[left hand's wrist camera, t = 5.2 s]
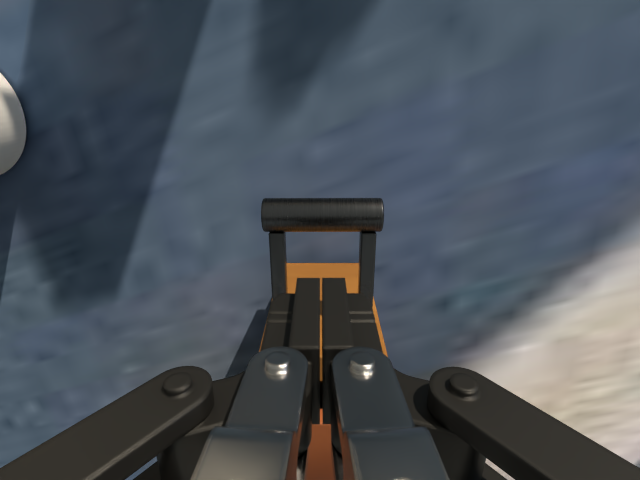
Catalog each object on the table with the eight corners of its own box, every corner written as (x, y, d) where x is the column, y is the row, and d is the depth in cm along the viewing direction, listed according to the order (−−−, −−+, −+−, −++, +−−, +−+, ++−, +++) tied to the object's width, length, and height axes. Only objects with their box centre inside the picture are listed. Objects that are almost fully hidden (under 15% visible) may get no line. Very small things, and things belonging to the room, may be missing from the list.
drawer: (276, 168, 21) (246, 217, 13) (369, 167, 21) (398, 217, 13) (289, 464, 29) (276, 609, 21) (357, 464, 29) (370, 610, 21)
